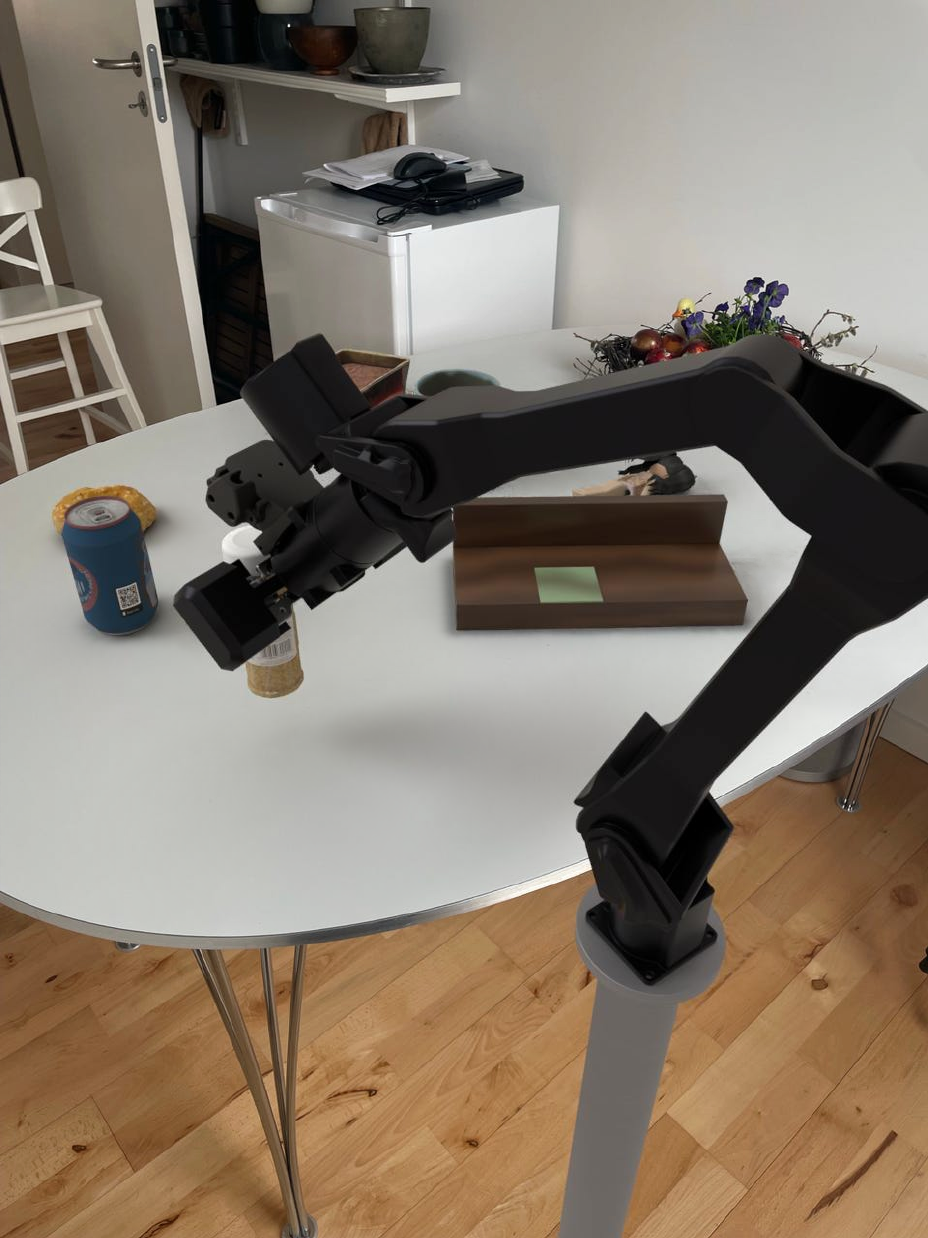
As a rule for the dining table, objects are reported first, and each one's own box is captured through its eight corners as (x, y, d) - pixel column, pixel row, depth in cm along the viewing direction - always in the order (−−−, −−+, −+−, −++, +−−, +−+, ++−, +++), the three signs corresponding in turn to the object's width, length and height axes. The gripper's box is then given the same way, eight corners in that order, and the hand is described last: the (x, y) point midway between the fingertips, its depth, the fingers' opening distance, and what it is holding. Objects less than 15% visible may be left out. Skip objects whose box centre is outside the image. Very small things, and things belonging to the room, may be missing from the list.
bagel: (170, 536, 104) (162, 498, 102) (67, 562, 100) (56, 523, 97) (145, 499, 111) (137, 462, 108) (48, 522, 107) (37, 485, 104)
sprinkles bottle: (304, 662, 77) (285, 519, 69) (304, 698, 73) (285, 551, 66) (247, 668, 77) (222, 524, 69) (245, 704, 73) (218, 556, 65)
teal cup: (476, 452, 122) (477, 363, 115) (512, 485, 115) (516, 392, 108) (404, 467, 118) (401, 376, 111) (436, 502, 111) (435, 407, 104)
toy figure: (607, 534, 106) (703, 494, 112) (606, 483, 103) (705, 445, 109) (568, 515, 111) (661, 477, 118) (565, 465, 108) (662, 430, 114)
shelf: (742, 625, 91) (758, 555, 87) (456, 630, 90) (456, 560, 86) (711, 559, 101) (724, 493, 96) (452, 563, 100) (452, 497, 95)
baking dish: (274, 442, 129) (262, 378, 122) (351, 381, 139) (344, 319, 132) (359, 474, 124) (351, 409, 116) (432, 409, 134) (429, 346, 127)
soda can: (77, 614, 92) (46, 506, 85) (144, 590, 96) (120, 485, 89) (102, 648, 88) (71, 538, 81) (172, 622, 91) (149, 514, 84)
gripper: (369, 376, 66) (273, 477, 77) (164, 475, 53) (86, 579, 65) (462, 504, 67) (354, 586, 78) (282, 632, 54) (184, 708, 66)
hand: (252, 609), depth 72 cm, fingers closed on sprinkles bottle, 4 cm apart
